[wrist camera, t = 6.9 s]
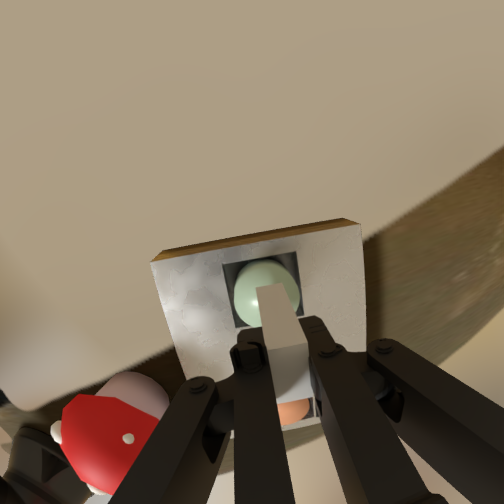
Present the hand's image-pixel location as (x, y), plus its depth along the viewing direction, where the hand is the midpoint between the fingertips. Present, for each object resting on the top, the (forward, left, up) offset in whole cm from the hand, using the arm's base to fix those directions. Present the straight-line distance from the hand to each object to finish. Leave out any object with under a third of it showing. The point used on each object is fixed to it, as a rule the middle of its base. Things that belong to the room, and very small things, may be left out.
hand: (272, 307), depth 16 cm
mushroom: (-14, -10, -7) cm, 19 cm away
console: (0, -5, -6) cm, 8 cm away
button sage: (0, 0, -3) cm, 3 cm away
